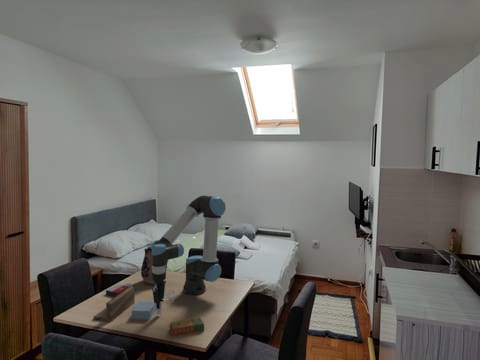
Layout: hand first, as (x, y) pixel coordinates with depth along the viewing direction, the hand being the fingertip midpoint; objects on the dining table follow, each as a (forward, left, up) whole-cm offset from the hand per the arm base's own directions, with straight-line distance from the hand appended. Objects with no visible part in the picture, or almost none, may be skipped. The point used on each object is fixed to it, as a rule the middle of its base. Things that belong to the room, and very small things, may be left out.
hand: (159, 313), depth 184 cm
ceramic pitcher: (+26, -49, -2) cm, 56 cm away
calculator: (+40, -25, -2) cm, 47 cm away
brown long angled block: (+28, 0, -1) cm, 28 cm away
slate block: (+9, 0, -2) cm, 9 cm away
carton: (-21, +11, -2) cm, 24 cm away
